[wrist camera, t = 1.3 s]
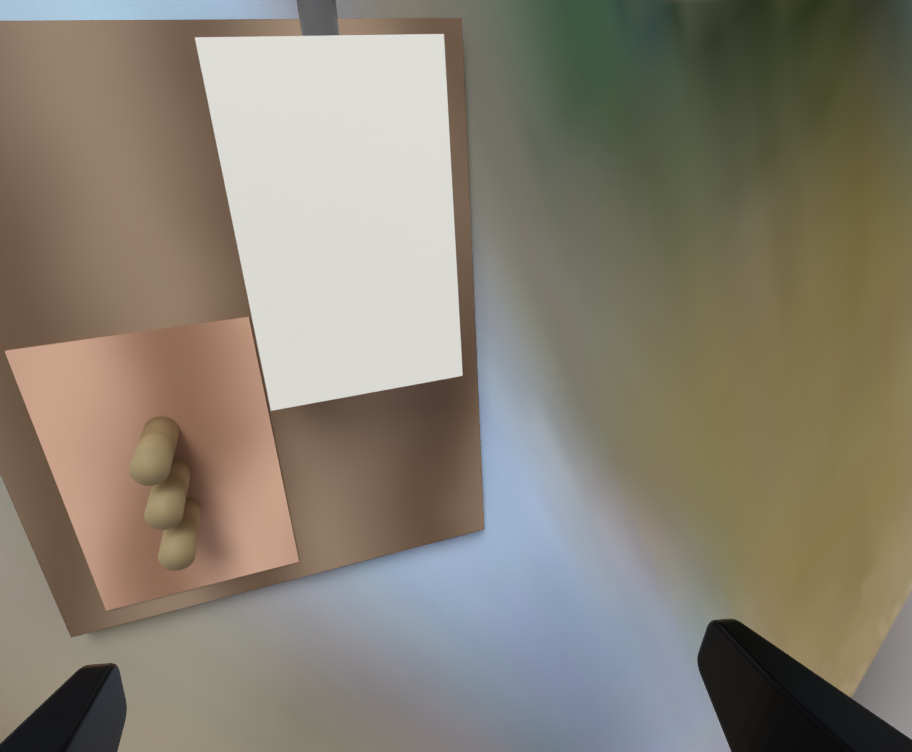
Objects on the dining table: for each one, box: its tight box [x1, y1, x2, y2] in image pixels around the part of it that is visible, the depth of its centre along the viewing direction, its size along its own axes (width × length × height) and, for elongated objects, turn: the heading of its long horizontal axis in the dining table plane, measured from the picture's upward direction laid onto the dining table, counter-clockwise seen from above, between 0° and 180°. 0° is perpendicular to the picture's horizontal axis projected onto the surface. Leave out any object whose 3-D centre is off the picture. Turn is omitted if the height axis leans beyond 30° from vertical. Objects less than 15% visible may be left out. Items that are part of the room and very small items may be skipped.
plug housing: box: [195, 0, 463, 411], centre depth 15 cm, size 5×11×4 cm, turn 4°
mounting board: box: [0, 18, 484, 637], centre depth 17 cm, size 15×18×3 cm
